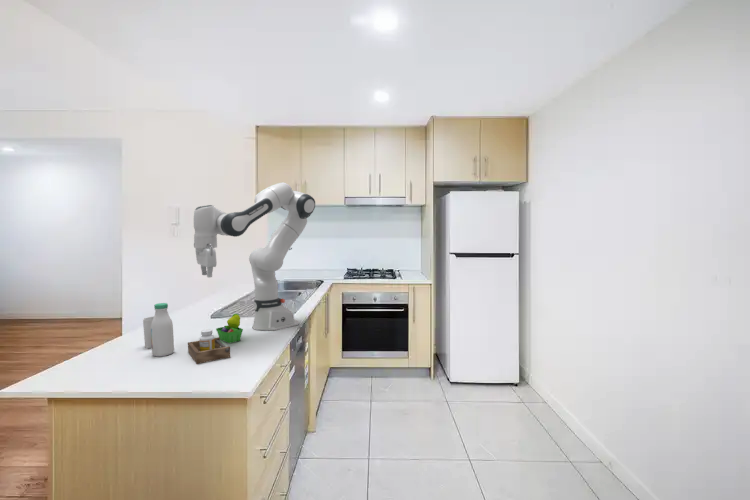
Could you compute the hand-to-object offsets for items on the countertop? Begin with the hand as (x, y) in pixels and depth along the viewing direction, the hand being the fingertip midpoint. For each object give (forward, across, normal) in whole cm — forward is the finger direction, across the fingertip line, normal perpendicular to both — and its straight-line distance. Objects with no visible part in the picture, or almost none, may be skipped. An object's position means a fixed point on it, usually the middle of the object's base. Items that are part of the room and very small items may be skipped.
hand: (206, 276), depth 166 cm
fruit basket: (+29, 0, -9) cm, 31 cm away
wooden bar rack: (+29, -15, +4) cm, 33 cm away
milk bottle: (+29, -3, +18) cm, 35 cm away
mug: (+29, +12, +19) cm, 37 cm away
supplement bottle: (+29, -15, +4) cm, 33 cm away
